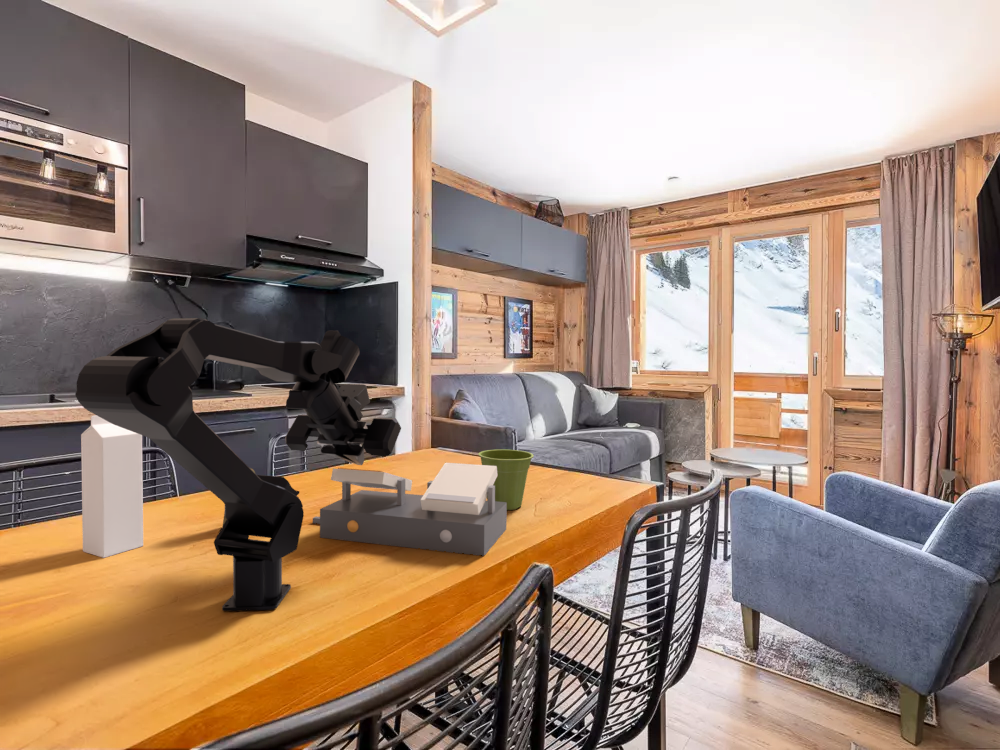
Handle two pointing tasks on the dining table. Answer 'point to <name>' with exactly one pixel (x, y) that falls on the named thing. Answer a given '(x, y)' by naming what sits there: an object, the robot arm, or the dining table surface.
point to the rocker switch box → (411, 522)
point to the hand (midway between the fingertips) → (361, 462)
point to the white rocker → (459, 488)
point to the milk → (111, 489)
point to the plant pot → (508, 474)
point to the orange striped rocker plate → (368, 478)
